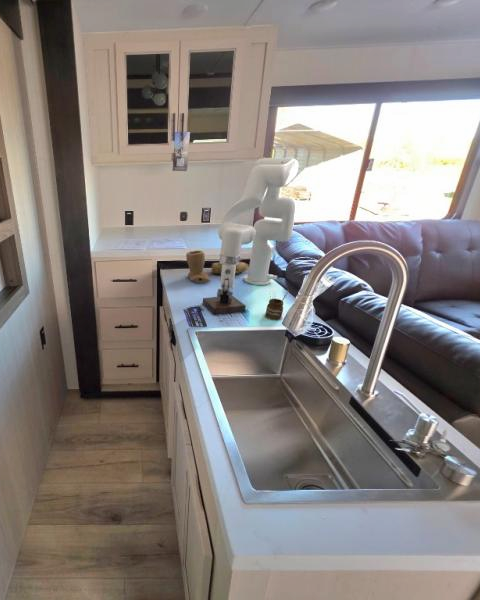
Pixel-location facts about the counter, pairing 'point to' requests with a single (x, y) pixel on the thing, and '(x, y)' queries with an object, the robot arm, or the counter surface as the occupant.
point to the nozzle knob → (221, 293)
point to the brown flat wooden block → (223, 306)
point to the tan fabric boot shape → (197, 266)
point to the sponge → (239, 268)
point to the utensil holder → (275, 308)
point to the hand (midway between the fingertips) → (224, 299)
